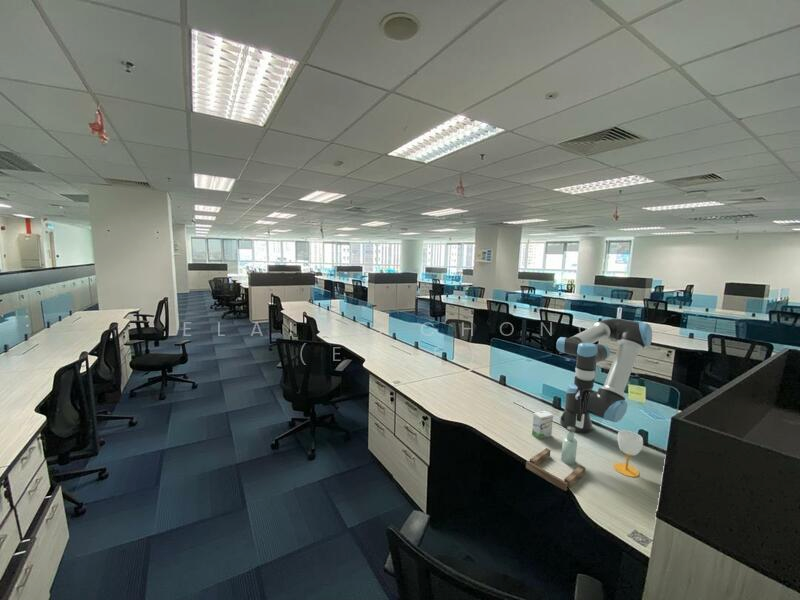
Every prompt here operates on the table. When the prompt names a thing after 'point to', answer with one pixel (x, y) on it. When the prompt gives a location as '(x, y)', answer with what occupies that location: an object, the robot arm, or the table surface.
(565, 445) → the bottle
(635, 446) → the cup
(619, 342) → the robot arm
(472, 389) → the table surface
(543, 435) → the ink box
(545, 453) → the u rest
